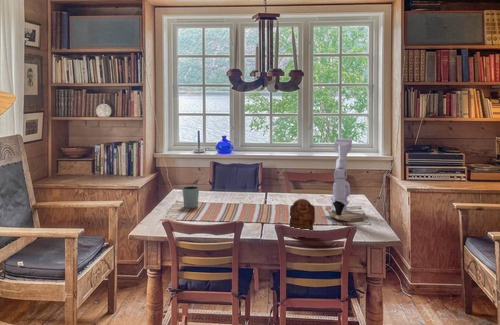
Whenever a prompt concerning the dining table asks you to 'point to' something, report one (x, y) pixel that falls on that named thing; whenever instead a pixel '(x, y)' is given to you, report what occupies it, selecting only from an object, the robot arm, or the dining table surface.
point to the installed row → (352, 216)
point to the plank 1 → (330, 210)
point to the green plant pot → (190, 196)
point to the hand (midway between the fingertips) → (338, 215)
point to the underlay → (336, 219)
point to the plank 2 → (341, 217)
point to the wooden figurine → (302, 214)
